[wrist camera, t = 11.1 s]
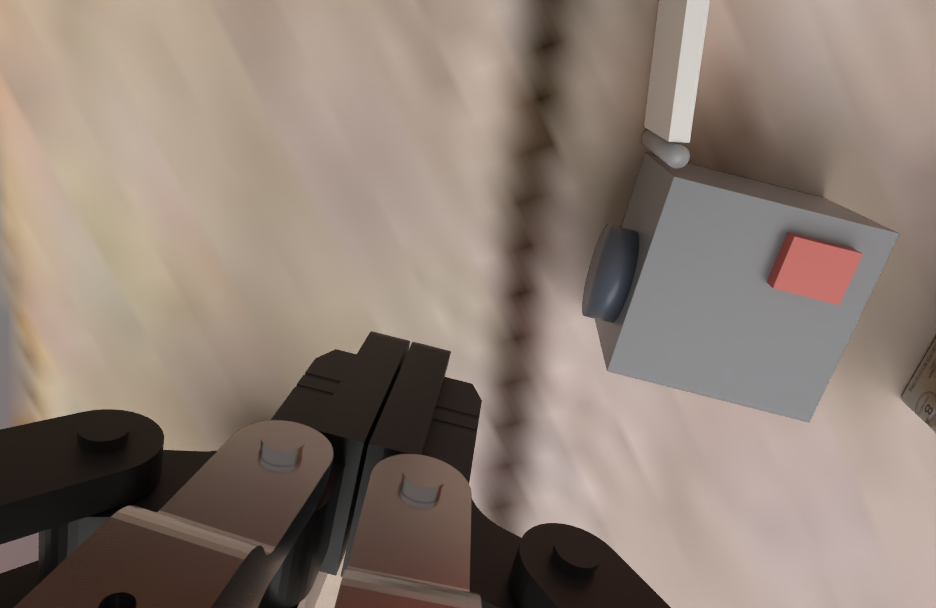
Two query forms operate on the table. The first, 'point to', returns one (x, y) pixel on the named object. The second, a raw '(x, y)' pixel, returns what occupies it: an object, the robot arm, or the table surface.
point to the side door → (674, 78)
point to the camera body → (732, 287)
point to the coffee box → (924, 389)
